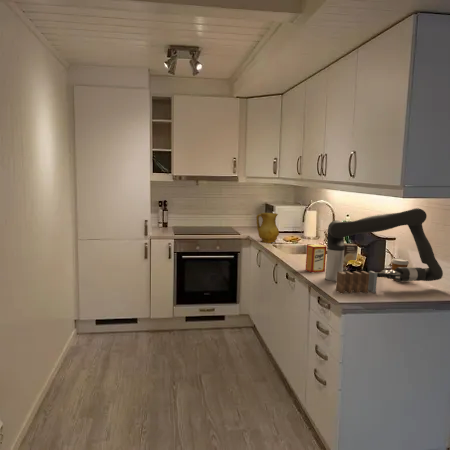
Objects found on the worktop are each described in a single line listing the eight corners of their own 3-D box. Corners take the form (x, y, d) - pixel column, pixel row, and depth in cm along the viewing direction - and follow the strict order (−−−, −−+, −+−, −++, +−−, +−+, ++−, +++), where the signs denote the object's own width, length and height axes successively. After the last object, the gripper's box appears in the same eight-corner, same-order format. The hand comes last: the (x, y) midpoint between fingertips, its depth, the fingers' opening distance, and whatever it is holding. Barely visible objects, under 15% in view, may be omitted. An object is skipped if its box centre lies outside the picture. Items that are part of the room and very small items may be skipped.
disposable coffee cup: (400, 282, 242) (402, 262, 241) (385, 279, 250) (387, 258, 248) (410, 281, 247) (412, 260, 246) (396, 277, 255) (397, 257, 254)
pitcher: (267, 243, 353) (268, 213, 352) (252, 241, 368) (254, 212, 367) (282, 243, 363) (284, 213, 362) (268, 240, 378) (269, 212, 377)
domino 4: (362, 289, 224) (363, 271, 223) (367, 292, 219) (369, 273, 218) (359, 290, 223) (361, 271, 222) (364, 292, 219) (366, 273, 217)
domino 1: (338, 290, 221) (340, 271, 219) (343, 293, 216) (345, 273, 214) (335, 290, 220) (337, 271, 219) (340, 293, 215) (342, 273, 214)
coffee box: (341, 270, 268) (343, 244, 266) (338, 268, 274) (340, 243, 272) (356, 270, 268) (358, 245, 266) (352, 268, 274) (354, 243, 272)
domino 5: (370, 289, 225) (371, 270, 224) (375, 292, 220) (377, 273, 219) (367, 289, 225) (368, 271, 223) (372, 292, 220) (374, 273, 219)
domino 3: (354, 290, 223) (356, 271, 222) (359, 292, 218) (361, 273, 217) (351, 290, 222) (353, 271, 221) (356, 293, 218) (358, 273, 216)
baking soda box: (318, 269, 268) (320, 244, 266) (324, 271, 262) (326, 245, 260) (305, 270, 264) (307, 244, 262) (311, 272, 258) (313, 246, 256)
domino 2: (346, 290, 222) (348, 271, 220) (351, 293, 217) (353, 273, 216) (343, 290, 221) (345, 271, 220) (348, 293, 216) (350, 273, 215)
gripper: (398, 264, 232) (370, 264, 228) (415, 270, 219) (385, 270, 215) (397, 278, 233) (368, 278, 229) (413, 284, 220) (383, 285, 216)
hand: (376, 274), depth 222 cm, fingers closed
